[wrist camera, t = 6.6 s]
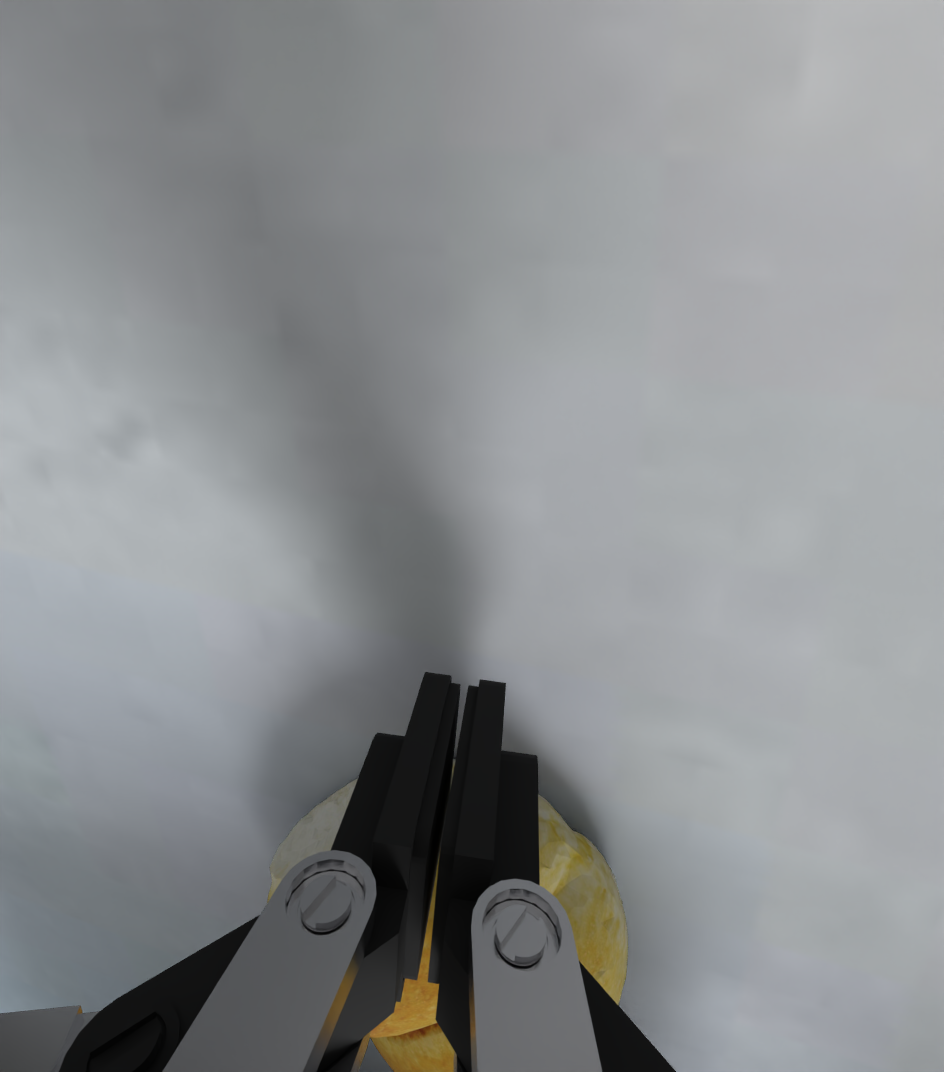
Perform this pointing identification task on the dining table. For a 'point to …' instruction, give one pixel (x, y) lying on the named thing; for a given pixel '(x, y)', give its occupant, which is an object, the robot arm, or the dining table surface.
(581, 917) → the bread roll
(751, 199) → the dining table surface
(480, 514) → the dining table surface
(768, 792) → the dining table surface
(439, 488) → the dining table surface
